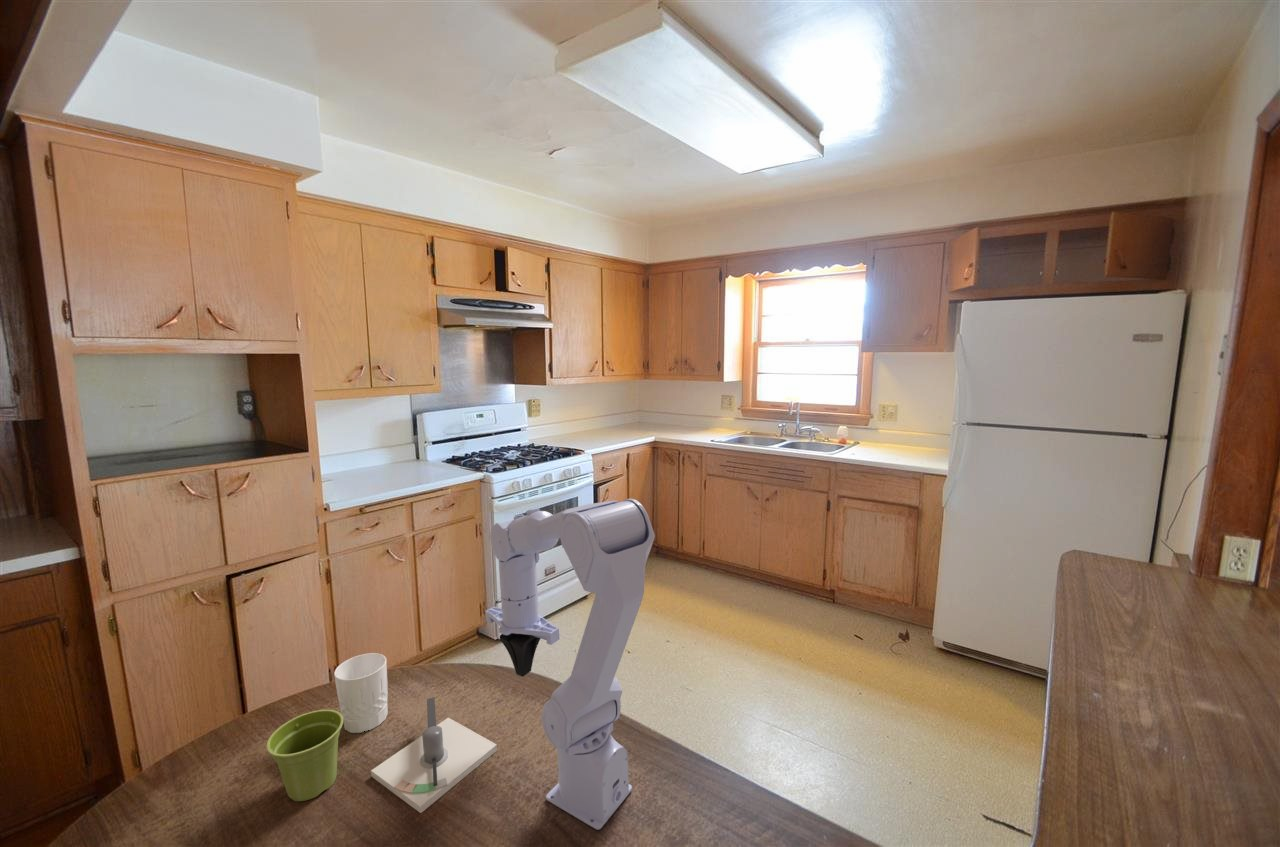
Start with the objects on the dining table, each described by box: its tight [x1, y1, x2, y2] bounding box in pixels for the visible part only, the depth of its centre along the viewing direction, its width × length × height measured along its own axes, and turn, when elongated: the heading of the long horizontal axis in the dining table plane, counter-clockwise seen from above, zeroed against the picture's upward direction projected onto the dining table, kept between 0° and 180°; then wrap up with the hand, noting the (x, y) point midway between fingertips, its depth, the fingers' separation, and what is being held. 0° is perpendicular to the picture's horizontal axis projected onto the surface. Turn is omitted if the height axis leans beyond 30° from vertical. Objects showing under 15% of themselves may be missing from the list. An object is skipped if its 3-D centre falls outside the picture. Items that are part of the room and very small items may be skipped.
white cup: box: [333, 652, 389, 734], centre depth 90 cm, size 8×8×10 cm
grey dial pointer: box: [421, 697, 444, 786], centre depth 81 cm, size 16×3×4 cm, turn 23°
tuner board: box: [370, 717, 498, 814], centre depth 80 cm, size 12×14×1 cm
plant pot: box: [266, 709, 344, 802], centre depth 76 cm, size 9×9×9 cm
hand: (524, 672), depth 86 cm, fingers closed
